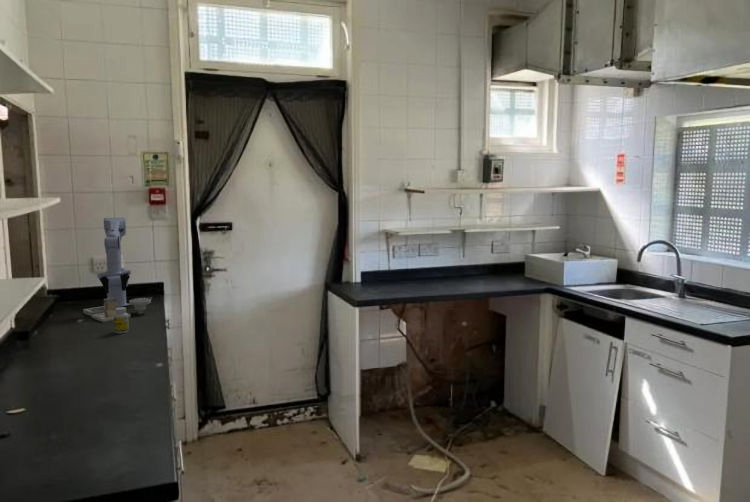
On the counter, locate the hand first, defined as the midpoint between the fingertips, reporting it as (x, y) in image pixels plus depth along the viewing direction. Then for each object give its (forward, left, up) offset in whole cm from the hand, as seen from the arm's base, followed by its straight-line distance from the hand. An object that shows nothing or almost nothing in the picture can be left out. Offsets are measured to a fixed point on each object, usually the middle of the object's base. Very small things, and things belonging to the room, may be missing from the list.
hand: (115, 291), depth 262 cm
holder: (-5, -6, -10) cm, 13 cm away
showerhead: (+10, +7, -10) cm, 16 cm away
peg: (+8, -6, -9) cm, 14 cm away
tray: (+8, -6, -10) cm, 14 cm away
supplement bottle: (+35, -13, -10) cm, 39 cm away
